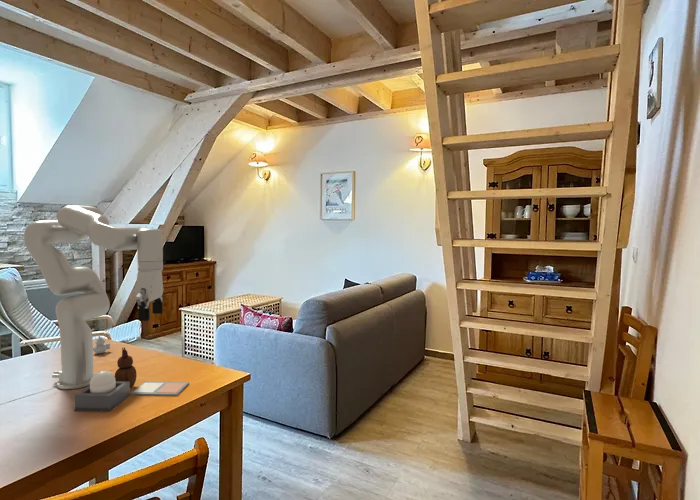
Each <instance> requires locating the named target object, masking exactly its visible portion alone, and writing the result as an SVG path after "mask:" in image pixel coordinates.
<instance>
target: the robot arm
mask: <svg viewBox="0 0 700 500" xmlns="http://www.w3.org/2000/svg"><path fill="white" fill-rule="evenodd" d="M55 216H56V220H55V219H45V220H44V219H43V220H37V221H33V222H31V223H29V224H28V225H27V226H26V227H25V229H24V232H23V233H24V234H23V240H24V241H23V243H24V245H25V248H26V250H27V251H28V252H29V255H31V257H32V258H33V260H34V261H35V262H36V264H37V266H38V268H39V270H40V272H41V274H42V276H43V279H44V280H45V283H46V285H47V287H48V288H49V290H50V292H51V293H52V294H53V295H55V296H66V295H67V297H64V298H62V299H60V300H59V301H58V302H57V304H56V306H55V316H56V319H57V323H58V328H59V340H60V361H61V362H60V363H61V370H58V369H57V370H54V371H53V373H52V376H51V378H52V379H58V381H57V382H56V388H58V389H61V390H75V389H76V390H77V389H81V388H86V387H88V386H90V380H91V378H92V377H93V375H94V374H96V372H95V369H94V367H95V366H94V351H93V348H94V344H93V341H94V340H93V331H92V329H91V327H90V326H89V324H88V323H87V321H88V320H93V319H95V318H101V317H102V316H105V315H106V314H107V313H108V312H109V310H110V306H111V302H110V299H109V297H108V294H107V292H106V289H105V288H104V286H103V283H102V282H101V279H100V278H99V275H98V274H97V273H96V272H95V271H94V269H92V268H90V267H89V266H71V264H70V263H69V261H68V259H67V256H66V255H65V254H64V253H63V252H62V251H61V250H60V249H58V248H57V247H55V246H54V245H53V244H58V245H59V244H72V243H76V242H80V241H81V240H83V239H84V238H86V237H87V238H89V240H90V241H91V243H92V244H93V245H95V246H98V247H101V248H103V249H106V250H109V251H113V252H121V251H122V252H123V251H133V250H136V251H137V255H136V256H137V275H136V282H135V283H136V285H135V300H136V305H137V310H138V312H137V313H138V315H137V316H138V321H140V322H143V321H144V322H148V321H149V320H150V308H149V305H150V302H152V305H151V306H152V309H151V310H152V311H151V312H152V314H155V315H157V314H160V315H162V314H163V302H164V299H163V298H164V297H163V296H164V291H165V290H164V289H165V288H164V285H163V283H164V282H163V273H162V272H163V270H164V259H163V258H164V247H163V245H164V243H163V242H164V241H163V240H164V239H163V237H164V235H163V231H162V230H161V229H159V228H144V227H138V226H137V227H131V226H129V227H127V226H125V227H122V226H121V227H116V226H115V227H114V226H111V225H110V222H109V219H108V218H107V217H106V216H105V215H104V214H103V212H102V211H101V210H100V209H99V208H98V207H96V206H92V205H78V204H77V205H76V204H73V205H72V204H71V205H65V206H64V207H63V206H62V207H61V208H60V209H59V210H58V211H57V213H56V215H55ZM79 293H80V294H79ZM73 294H75V295H73ZM68 295H70V296H68Z"/></svg>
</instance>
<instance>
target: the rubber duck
mask: <svg viewBox="0 0 700 500" xmlns="http://www.w3.org/2000/svg"><path fill="white" fill-rule="evenodd" d="M94 343H95V346H93V353H96V354H99V355H100V354H103V353H105V352H107V350H110V349H111V347H110V346H111V343H110V342H107V343H106V341H105V339H104V338H103V337H101V336H100V335H99V336H98V338H97V339H96V341H95V342H94Z"/></svg>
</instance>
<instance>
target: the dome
mask: <svg viewBox="0 0 700 500" xmlns="http://www.w3.org/2000/svg"><path fill="white" fill-rule="evenodd" d="M89 386H90V393H109V392H111V391H112V390H114V389H115V388H116V380H115V373H113V372H111V371H109V370H99V371H98V372H95V374H94V375H93V377H92V378H91V380H90V385H89Z"/></svg>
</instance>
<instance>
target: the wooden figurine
mask: <svg viewBox="0 0 700 500" xmlns="http://www.w3.org/2000/svg"><path fill="white" fill-rule="evenodd" d="M121 351H122V352H121V356H120V357H119V358H118V359H117V361H116V362H117V367H118V368H117V369H116V371H115V373H114V376H115V380H116V381H130V389H131V388H133V387H134V386H135V383H136V381H137V369H136V367H135V366H134V365H133V364H134V359H133V357H132V356H131V355H129V354H128V353H129V352H128V350H127V349H126V347H122V348H121Z"/></svg>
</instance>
